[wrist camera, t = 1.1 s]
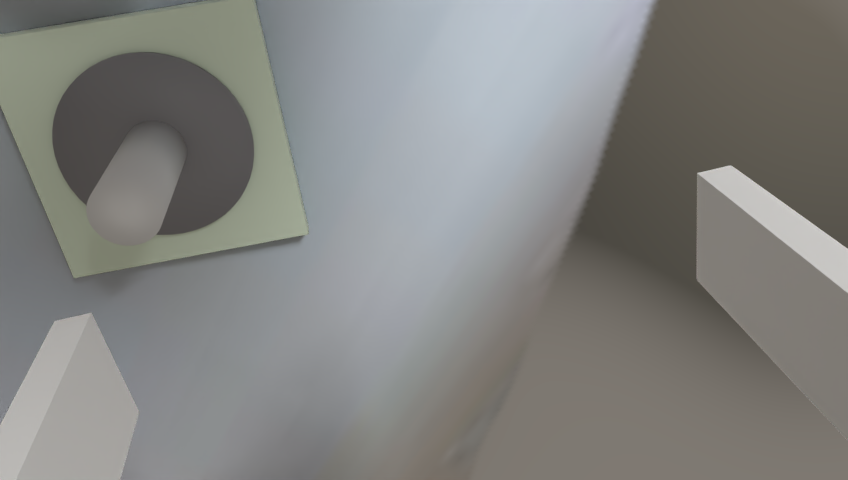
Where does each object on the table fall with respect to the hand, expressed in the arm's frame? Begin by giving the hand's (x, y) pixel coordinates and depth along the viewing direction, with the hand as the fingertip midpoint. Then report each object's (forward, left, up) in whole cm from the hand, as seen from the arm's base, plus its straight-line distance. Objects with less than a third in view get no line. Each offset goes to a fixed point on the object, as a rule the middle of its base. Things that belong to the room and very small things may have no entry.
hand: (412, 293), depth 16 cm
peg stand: (+3, -10, -22) cm, 24 cm away
